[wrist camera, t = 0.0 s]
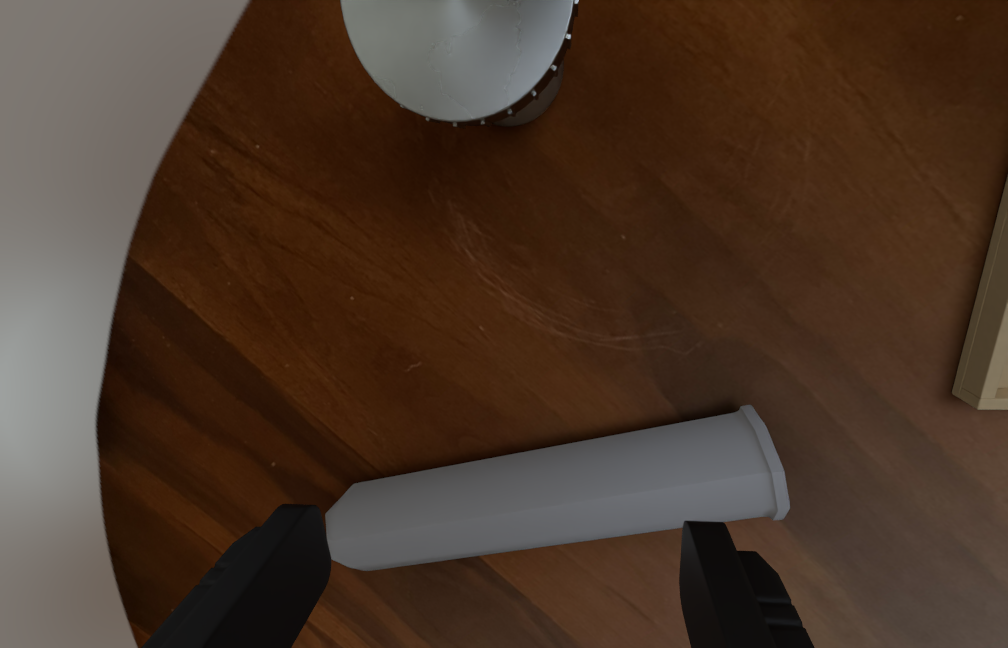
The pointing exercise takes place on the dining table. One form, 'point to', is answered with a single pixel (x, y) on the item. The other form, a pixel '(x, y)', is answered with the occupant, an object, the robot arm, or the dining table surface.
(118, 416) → the dining table surface
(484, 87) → the lid
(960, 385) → the tray
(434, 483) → the tube
